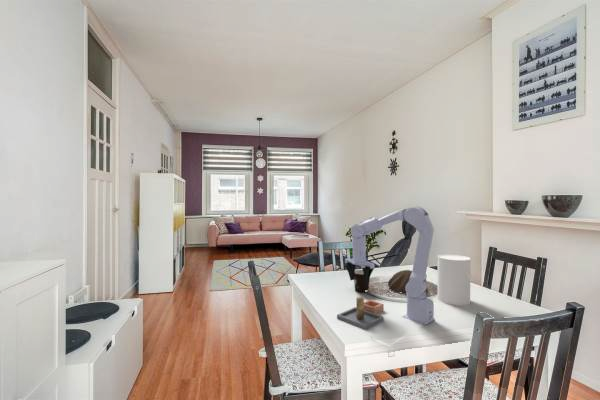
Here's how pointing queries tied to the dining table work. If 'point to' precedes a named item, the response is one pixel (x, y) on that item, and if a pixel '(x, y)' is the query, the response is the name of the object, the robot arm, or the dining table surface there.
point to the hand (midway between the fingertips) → (359, 281)
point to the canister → (453, 279)
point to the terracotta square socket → (373, 306)
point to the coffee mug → (360, 282)
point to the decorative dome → (400, 281)
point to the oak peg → (360, 308)
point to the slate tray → (366, 323)
